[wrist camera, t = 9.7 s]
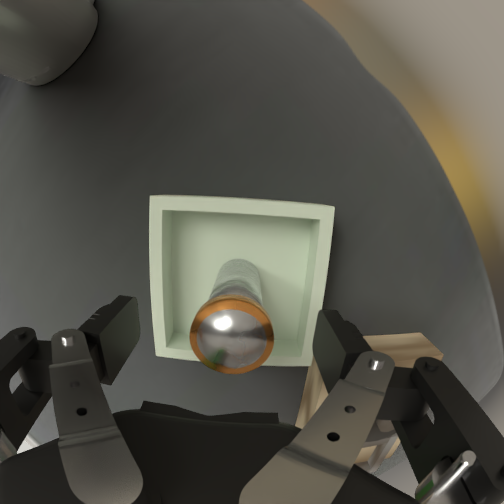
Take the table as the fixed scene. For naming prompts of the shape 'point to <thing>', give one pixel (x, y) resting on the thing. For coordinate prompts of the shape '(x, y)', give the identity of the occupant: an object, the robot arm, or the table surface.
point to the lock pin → (233, 322)
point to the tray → (238, 247)
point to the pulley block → (382, 432)
